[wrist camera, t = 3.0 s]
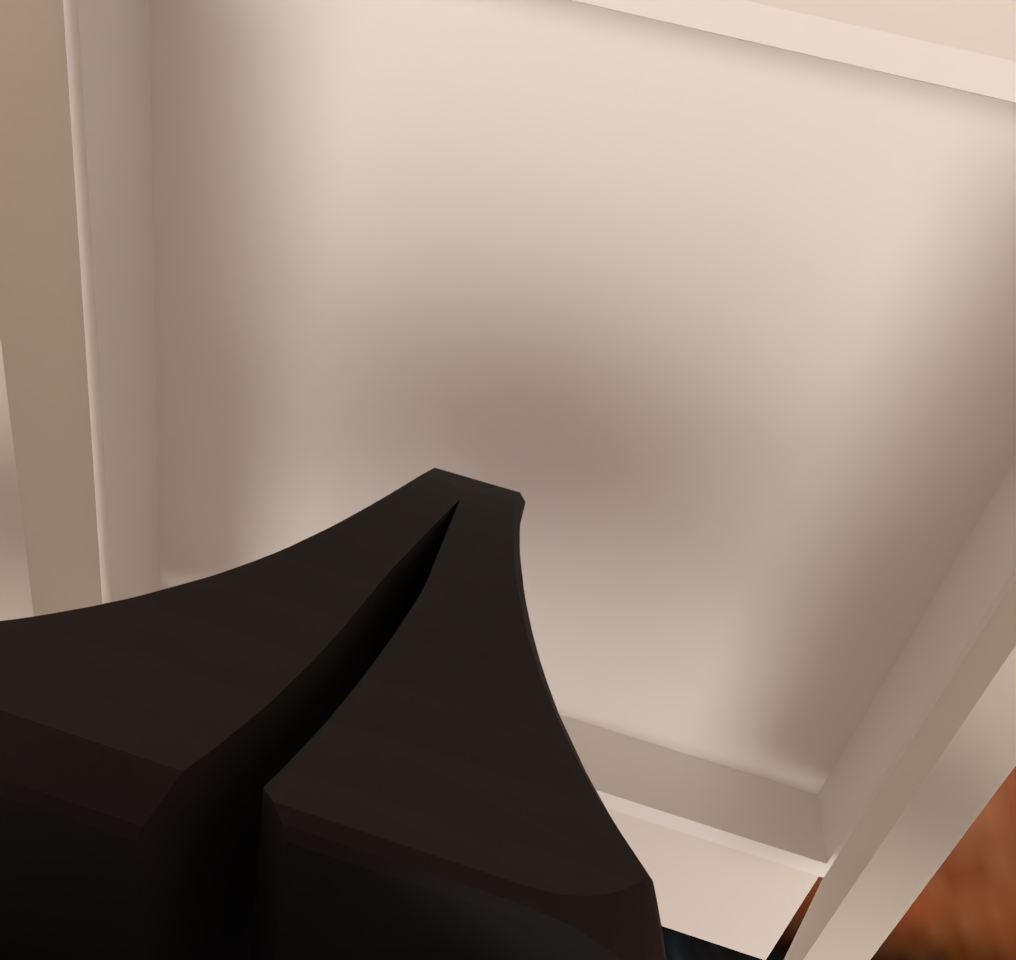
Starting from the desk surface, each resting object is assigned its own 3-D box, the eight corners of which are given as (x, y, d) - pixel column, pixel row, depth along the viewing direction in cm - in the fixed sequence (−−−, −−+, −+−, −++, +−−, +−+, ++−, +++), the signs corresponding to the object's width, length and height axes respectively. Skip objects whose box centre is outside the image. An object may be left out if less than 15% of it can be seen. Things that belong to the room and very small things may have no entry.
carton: (777, 884, 19) (783, 966, 18) (154, 682, 21) (104, 740, 19) (1401, -159, 9) (1554, -204, 8) (127, -407, 11) (17, -490, 9)
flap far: (58, 823, 13) (17, 825, 13) (105, 650, 17) (71, 650, 17) (-54, -107, 7) (-135, -125, 7) (56, -92, 10) (2, -104, 10)
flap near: (821, 881, 15) (852, 903, 15) (737, 1057, 12) (773, 1088, 12) (1263, 192, 9) (1329, 207, 9) (1306, 214, 6) (1410, 240, 6)
